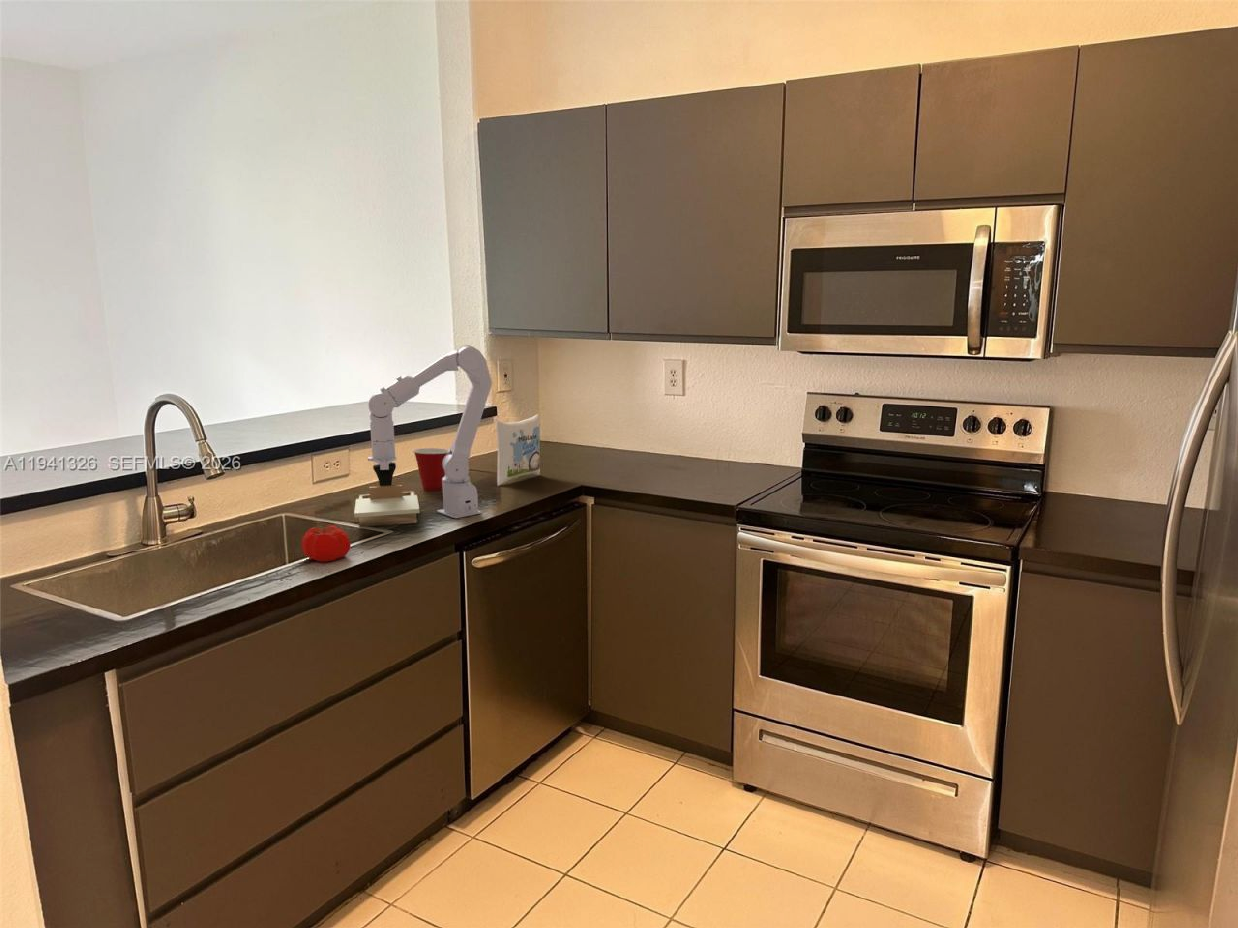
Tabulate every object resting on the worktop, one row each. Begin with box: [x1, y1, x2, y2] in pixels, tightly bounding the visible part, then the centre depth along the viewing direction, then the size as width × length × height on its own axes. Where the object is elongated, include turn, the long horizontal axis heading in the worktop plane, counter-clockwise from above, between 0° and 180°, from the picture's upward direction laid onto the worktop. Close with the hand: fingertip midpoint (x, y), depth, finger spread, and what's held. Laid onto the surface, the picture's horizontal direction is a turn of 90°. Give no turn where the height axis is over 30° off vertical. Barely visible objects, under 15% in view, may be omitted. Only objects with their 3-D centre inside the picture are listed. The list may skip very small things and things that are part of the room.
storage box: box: [358, 491, 418, 528], centre depth 223 cm, size 14×14×5 cm
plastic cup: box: [412, 447, 450, 492], centre depth 255 cm, size 11×11×12 cm
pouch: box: [496, 413, 541, 487], centre depth 264 cm, size 8×19×20 cm, turn 141°
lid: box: [353, 484, 420, 518], centre depth 212 cm, size 15×15×4 cm
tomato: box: [301, 525, 352, 563], centre depth 190 cm, size 10×11×6 cm
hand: (386, 491), depth 222 cm, fingers closed
